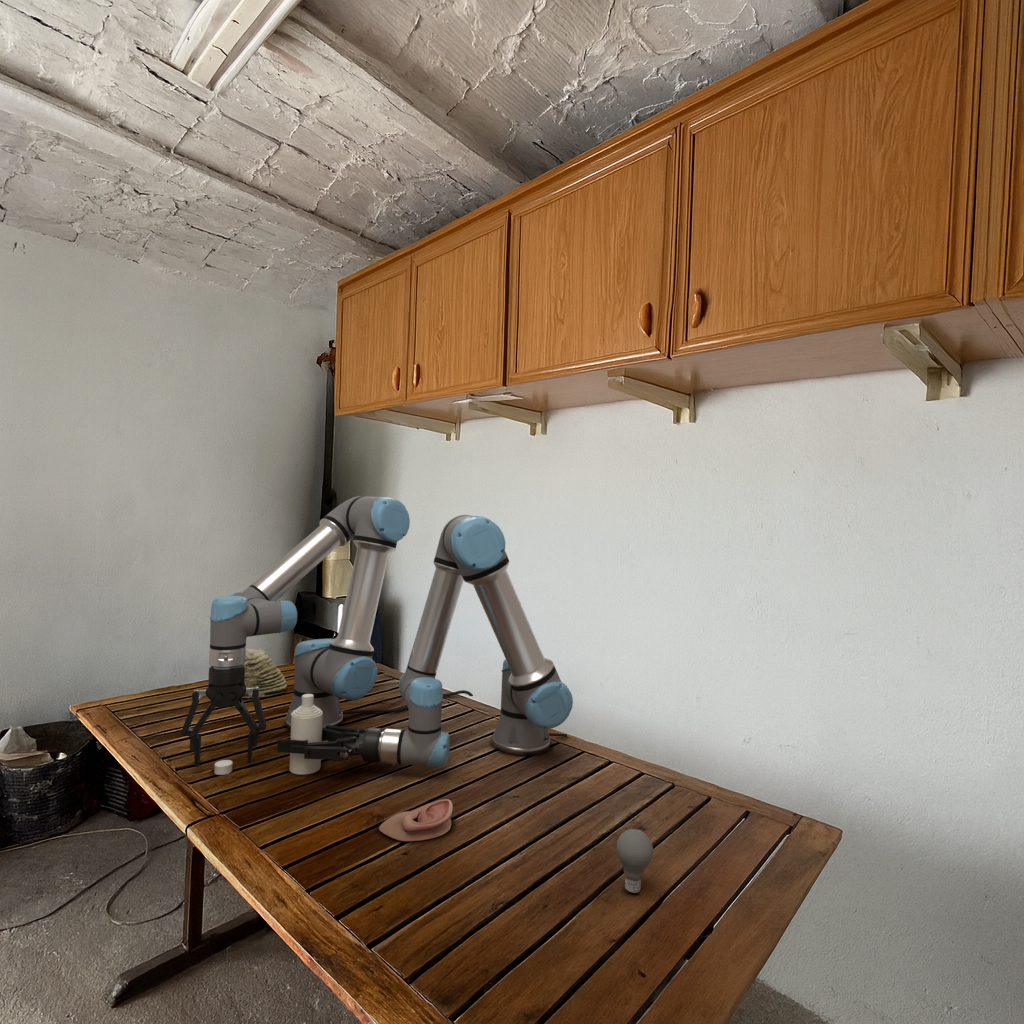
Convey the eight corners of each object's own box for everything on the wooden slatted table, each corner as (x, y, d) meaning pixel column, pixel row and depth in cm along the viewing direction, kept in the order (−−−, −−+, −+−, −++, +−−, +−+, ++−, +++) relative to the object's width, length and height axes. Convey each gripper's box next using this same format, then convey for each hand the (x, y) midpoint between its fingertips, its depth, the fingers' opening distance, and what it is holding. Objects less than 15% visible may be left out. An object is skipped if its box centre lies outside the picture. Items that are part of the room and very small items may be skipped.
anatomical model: (372, 815, 119) (396, 788, 130) (371, 836, 119) (395, 808, 130) (440, 826, 116) (458, 797, 127) (439, 847, 116) (457, 817, 127)
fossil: (218, 695, 195) (220, 647, 195) (278, 685, 208) (279, 640, 207) (228, 703, 189) (230, 653, 188) (289, 692, 201) (290, 645, 201)
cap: (213, 775, 141) (213, 767, 141) (215, 768, 145) (216, 760, 145) (231, 774, 142) (231, 765, 142) (233, 767, 146) (233, 759, 146)
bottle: (291, 762, 150) (294, 691, 150) (321, 761, 151) (324, 690, 151) (287, 775, 143) (290, 700, 143) (319, 773, 145) (322, 699, 144)
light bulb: (610, 879, 108) (613, 822, 108) (644, 879, 109) (647, 822, 109) (619, 902, 102) (622, 840, 102) (655, 901, 103) (658, 840, 103)
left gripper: (167, 671, 136) (164, 774, 137) (279, 667, 143) (276, 765, 144) (174, 662, 143) (171, 759, 144) (281, 659, 150) (277, 752, 151)
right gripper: (369, 780, 136) (265, 773, 138) (392, 745, 156) (301, 739, 157) (370, 746, 136) (266, 739, 137) (393, 715, 156) (302, 709, 157)
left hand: (223, 762), depth 144 cm, fingers open, 10 cm apart
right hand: (285, 739), depth 147 cm, fingers closed on bottle, 7 cm apart
